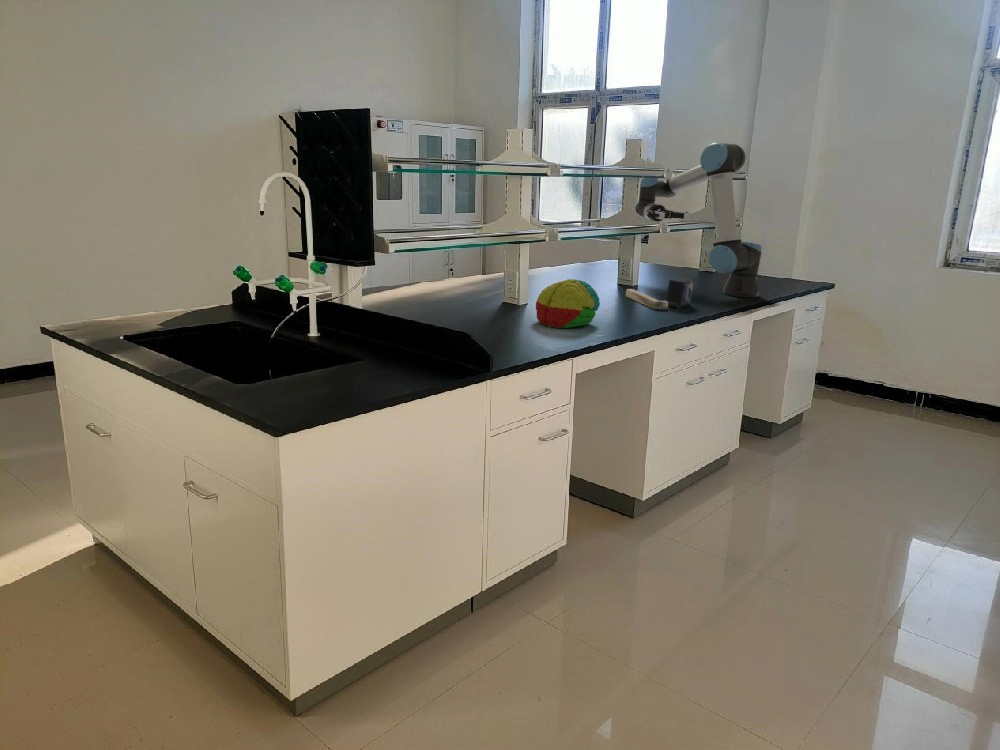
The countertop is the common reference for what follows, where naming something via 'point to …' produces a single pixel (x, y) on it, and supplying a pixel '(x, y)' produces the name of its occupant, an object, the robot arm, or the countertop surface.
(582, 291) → the brain model
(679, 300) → the small box
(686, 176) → the robot arm
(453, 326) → the countertop surface
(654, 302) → the bar
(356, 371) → the countertop surface
